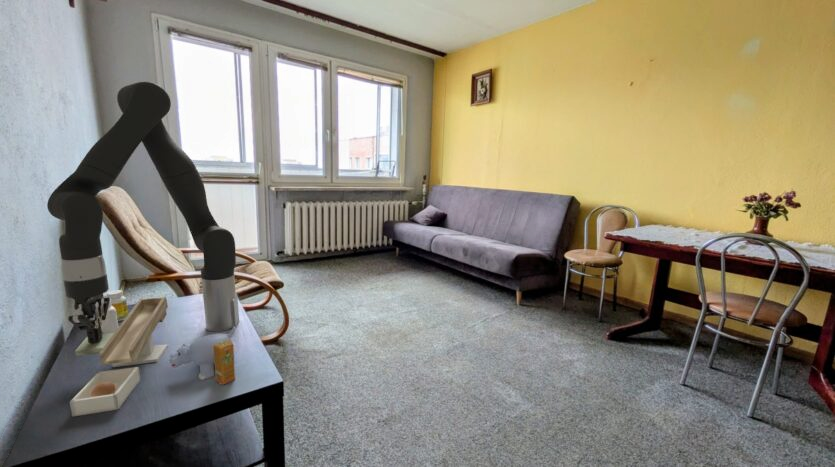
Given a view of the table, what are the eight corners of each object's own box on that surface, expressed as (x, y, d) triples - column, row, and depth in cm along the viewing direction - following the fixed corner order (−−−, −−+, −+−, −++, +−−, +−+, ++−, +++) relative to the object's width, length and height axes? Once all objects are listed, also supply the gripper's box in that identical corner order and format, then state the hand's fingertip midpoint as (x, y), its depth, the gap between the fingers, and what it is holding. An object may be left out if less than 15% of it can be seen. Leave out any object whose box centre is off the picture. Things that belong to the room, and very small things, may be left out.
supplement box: (223, 386, 84) (219, 348, 82) (215, 381, 86) (212, 344, 84) (236, 379, 87) (233, 342, 85) (228, 374, 88) (225, 338, 87)
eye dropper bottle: (120, 326, 112) (115, 291, 109) (118, 333, 107) (113, 297, 105) (102, 329, 109) (96, 294, 107) (100, 337, 105) (93, 300, 103)
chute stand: (168, 346, 101) (165, 326, 99) (157, 361, 93) (154, 339, 92) (126, 351, 98) (123, 330, 96) (112, 367, 90) (108, 344, 89)
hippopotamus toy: (170, 367, 91) (166, 334, 89) (234, 350, 100) (231, 320, 98) (173, 389, 83) (169, 352, 81) (242, 368, 92) (239, 335, 90)
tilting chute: (169, 312, 107) (165, 296, 105) (137, 367, 86) (132, 349, 84) (119, 316, 103) (115, 300, 101) (73, 375, 82) (66, 357, 80)
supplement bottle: (108, 318, 117) (104, 291, 115) (128, 314, 121) (125, 288, 119) (107, 323, 113) (103, 296, 111) (128, 319, 117) (124, 292, 115)
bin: (140, 379, 86) (138, 366, 85) (118, 409, 75) (116, 395, 75) (100, 385, 83) (98, 372, 82) (72, 416, 73) (69, 401, 72)
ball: (108, 389, 75) (112, 403, 77) (116, 376, 79) (120, 390, 80) (85, 392, 74) (89, 407, 75) (95, 379, 78) (99, 393, 79)
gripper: (89, 282, 78) (99, 353, 81) (118, 266, 90) (126, 328, 93) (46, 285, 75) (59, 357, 78) (82, 268, 88) (92, 331, 91)
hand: (95, 341), depth 86 cm, fingers closed
